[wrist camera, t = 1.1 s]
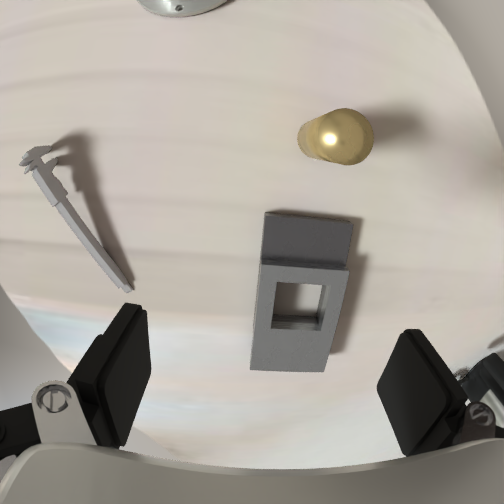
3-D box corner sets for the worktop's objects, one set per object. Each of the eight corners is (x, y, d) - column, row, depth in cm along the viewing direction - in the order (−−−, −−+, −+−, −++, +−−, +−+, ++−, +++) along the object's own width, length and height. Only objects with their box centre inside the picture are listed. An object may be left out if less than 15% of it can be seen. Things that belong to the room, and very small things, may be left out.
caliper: (46, 150, 28) (13, 154, 22) (52, 144, 28) (19, 148, 22) (128, 291, 34) (108, 318, 28) (134, 288, 34) (115, 315, 28)
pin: (299, 117, 27) (321, 103, 18) (338, 123, 28) (375, 114, 18) (295, 156, 29) (315, 160, 19) (334, 161, 29) (370, 169, 19)
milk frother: (499, 368, 40) (536, 414, 26) (441, 419, 44) (468, 472, 30) (486, 334, 37) (535, 387, 23) (417, 395, 41) (450, 460, 27)
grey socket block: (264, 212, 31) (266, 219, 28) (349, 221, 31) (358, 228, 28) (250, 354, 37) (249, 369, 34) (319, 357, 37) (323, 372, 34)
